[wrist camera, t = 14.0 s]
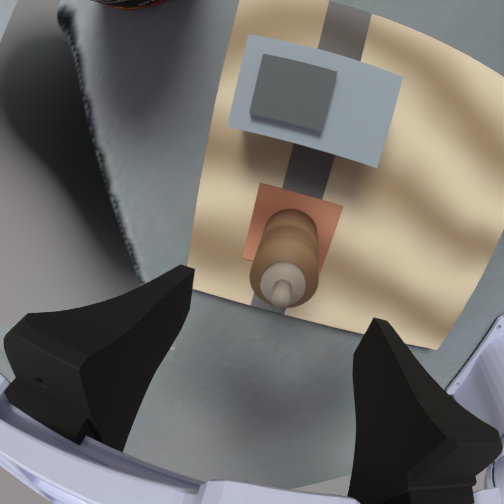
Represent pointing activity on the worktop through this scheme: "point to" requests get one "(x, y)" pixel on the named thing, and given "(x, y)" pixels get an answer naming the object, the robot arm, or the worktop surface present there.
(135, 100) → the worktop surface
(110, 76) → the worktop surface
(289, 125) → the block
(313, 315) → the board
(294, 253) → the brown glue bottle
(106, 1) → the canned food
